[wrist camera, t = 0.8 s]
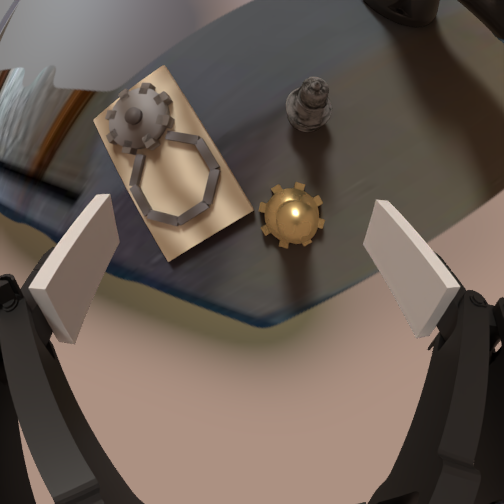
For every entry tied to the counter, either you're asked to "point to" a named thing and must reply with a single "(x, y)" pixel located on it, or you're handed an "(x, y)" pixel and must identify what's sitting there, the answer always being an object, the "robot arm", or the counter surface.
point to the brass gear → (292, 215)
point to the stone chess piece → (309, 105)
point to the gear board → (170, 164)
